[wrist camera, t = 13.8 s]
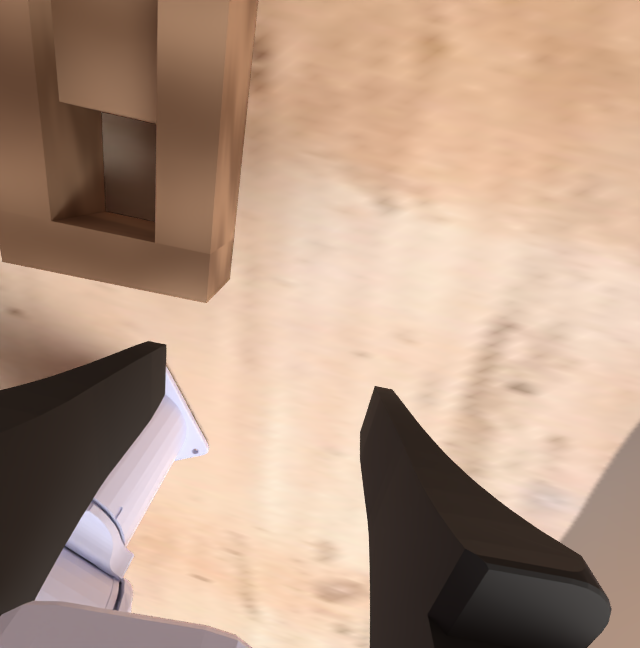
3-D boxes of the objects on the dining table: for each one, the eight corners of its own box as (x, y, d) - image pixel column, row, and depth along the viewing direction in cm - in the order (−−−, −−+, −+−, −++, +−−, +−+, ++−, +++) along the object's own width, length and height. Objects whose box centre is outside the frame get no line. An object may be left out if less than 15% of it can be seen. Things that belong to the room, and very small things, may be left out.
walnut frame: (229, 279, 21) (206, 303, 18) (63, 245, 21) (2, 261, 17) (265, -76, 15) (241, -160, 11) (27, -136, 15) (-83, -245, 11)
